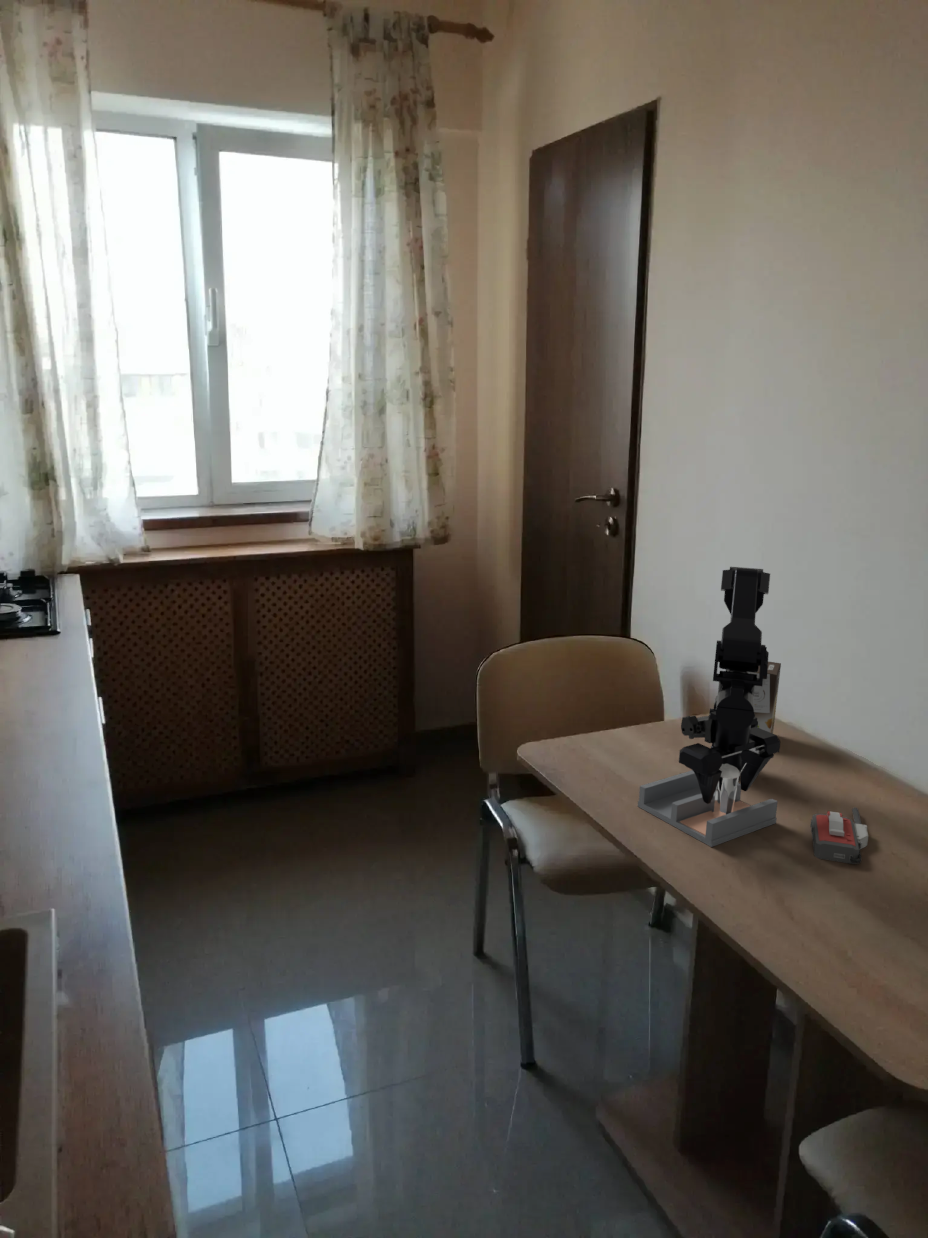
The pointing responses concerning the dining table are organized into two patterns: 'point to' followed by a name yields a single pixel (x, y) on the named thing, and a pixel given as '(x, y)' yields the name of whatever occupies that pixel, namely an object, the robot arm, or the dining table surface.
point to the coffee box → (767, 697)
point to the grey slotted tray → (702, 810)
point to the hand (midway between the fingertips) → (725, 796)
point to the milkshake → (725, 791)
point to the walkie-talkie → (838, 837)
